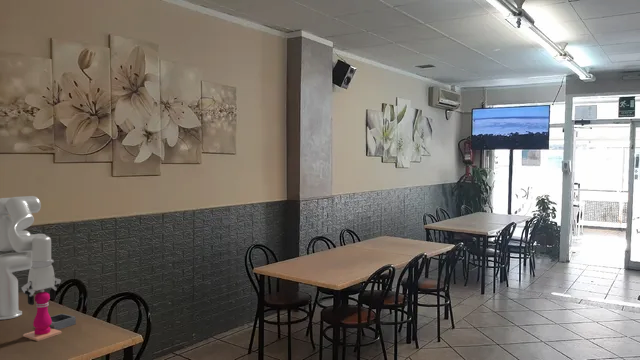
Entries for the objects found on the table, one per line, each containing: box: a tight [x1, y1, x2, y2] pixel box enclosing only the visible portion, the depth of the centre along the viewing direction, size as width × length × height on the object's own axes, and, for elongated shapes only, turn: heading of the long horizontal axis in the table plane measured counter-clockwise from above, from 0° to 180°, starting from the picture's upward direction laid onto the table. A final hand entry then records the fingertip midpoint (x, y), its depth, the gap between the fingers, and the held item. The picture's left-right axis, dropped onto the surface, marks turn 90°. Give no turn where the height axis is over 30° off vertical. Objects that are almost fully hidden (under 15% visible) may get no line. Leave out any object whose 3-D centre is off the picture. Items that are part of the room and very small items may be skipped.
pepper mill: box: [32, 289, 52, 335], centre depth 217 cm, size 7×7×20 cm
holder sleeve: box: [49, 313, 77, 330], centre depth 229 cm, size 11×11×4 cm
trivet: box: [23, 328, 63, 342], centre depth 217 cm, size 11×11×1 cm
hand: (42, 301), depth 216 cm, fingers open, 9 cm apart
